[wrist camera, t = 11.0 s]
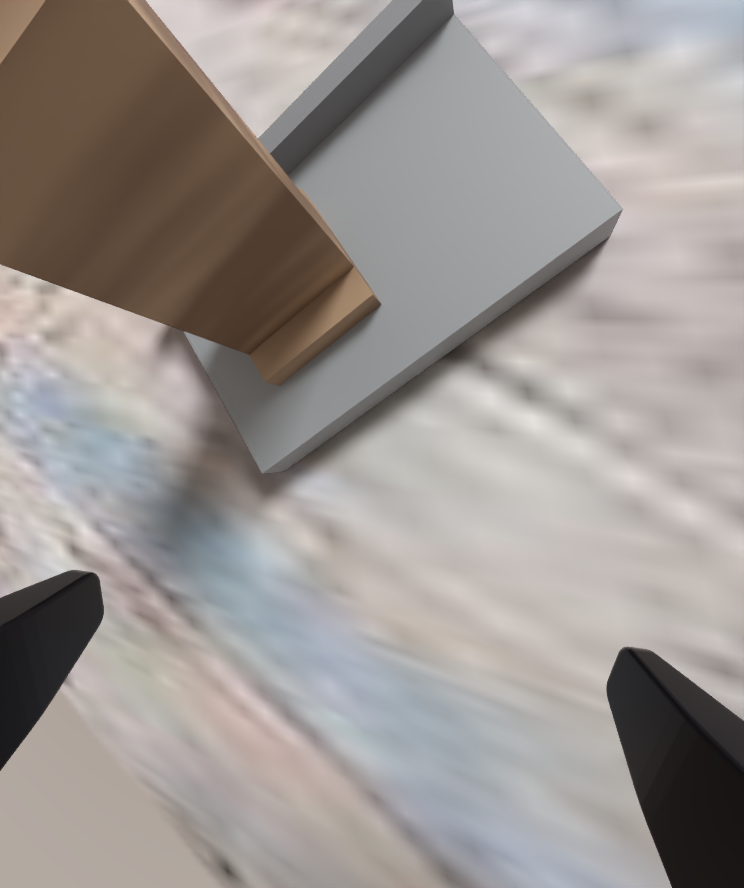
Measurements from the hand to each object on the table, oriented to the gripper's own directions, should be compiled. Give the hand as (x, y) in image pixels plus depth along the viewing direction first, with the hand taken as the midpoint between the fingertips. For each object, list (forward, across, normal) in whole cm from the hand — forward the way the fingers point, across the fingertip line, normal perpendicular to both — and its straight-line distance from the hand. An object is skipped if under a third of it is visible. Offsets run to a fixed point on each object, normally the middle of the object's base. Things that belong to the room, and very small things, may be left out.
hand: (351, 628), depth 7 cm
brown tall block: (+14, +5, -5) cm, 16 cm away
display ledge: (+16, +2, -6) cm, 18 cm away
